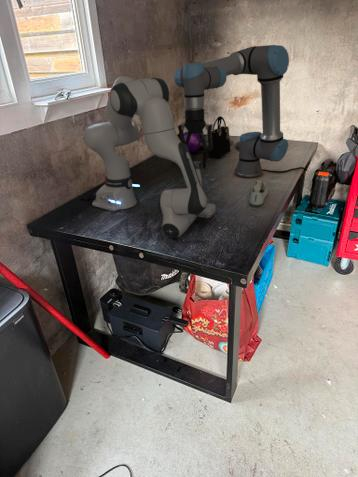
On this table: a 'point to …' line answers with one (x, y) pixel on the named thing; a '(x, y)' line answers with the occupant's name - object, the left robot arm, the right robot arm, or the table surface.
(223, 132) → the handbag
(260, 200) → the ballet flat
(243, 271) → the table surface
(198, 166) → the cap
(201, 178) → the bottle
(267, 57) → the right robot arm
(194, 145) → the decorative orb
